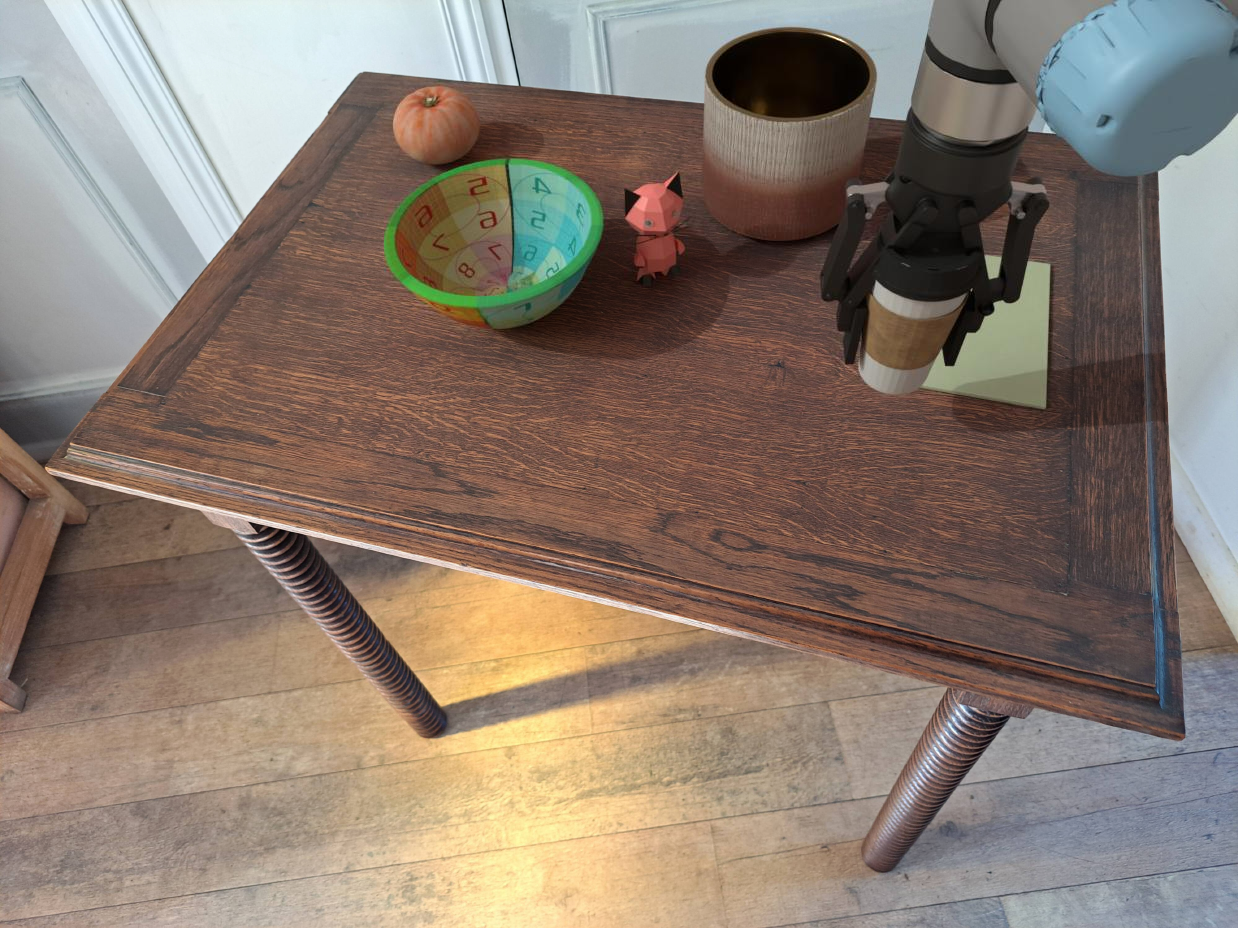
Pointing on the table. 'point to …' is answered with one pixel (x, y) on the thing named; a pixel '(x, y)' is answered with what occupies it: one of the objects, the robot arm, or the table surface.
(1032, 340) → the sage mat
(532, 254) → the bowl
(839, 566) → the table surface
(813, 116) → the planter
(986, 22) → the robot arm
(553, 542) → the table surface
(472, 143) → the pumpkin
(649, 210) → the cat figurine
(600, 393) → the table surface
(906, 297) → the coffee cup
